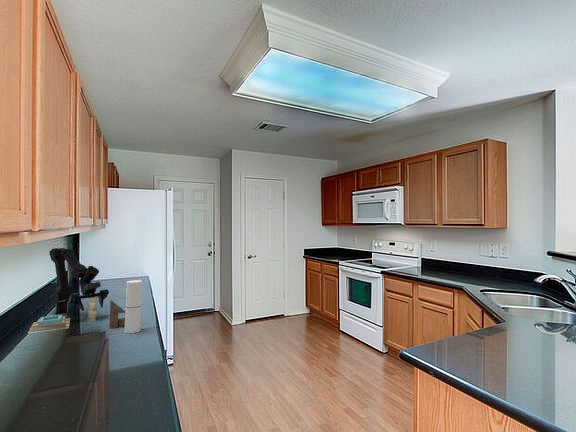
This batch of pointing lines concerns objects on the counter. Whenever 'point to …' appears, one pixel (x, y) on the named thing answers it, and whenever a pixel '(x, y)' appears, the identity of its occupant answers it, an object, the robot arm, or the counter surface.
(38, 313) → the counter surface
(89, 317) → the birch dowel
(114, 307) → the wooden block
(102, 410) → the counter surface
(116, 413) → the counter surface
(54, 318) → the socket block
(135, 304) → the cylindrical container
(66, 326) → the rail base
